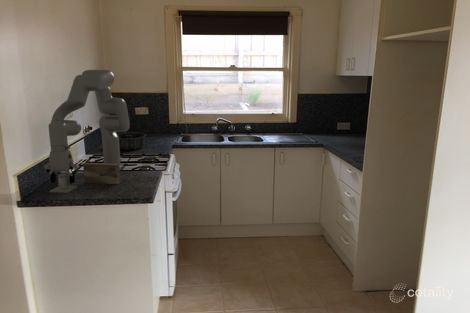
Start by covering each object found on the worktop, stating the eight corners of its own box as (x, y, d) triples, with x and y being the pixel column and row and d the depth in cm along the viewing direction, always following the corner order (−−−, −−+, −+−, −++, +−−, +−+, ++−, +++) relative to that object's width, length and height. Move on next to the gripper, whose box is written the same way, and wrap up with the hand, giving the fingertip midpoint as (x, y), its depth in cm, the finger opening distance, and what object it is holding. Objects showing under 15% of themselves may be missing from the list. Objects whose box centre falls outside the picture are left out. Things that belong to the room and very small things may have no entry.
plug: (62, 187, 180) (60, 173, 178) (69, 187, 179) (68, 173, 178) (57, 189, 176) (55, 175, 175) (65, 189, 176) (63, 176, 174)
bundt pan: (141, 151, 267) (141, 138, 265) (106, 151, 267) (105, 137, 265) (150, 144, 292) (150, 132, 290) (118, 144, 293) (117, 132, 291)
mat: (60, 186, 183) (60, 185, 183) (77, 187, 182) (77, 186, 182) (49, 192, 174) (49, 190, 174) (67, 193, 173) (67, 191, 173)
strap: (110, 170, 186) (110, 168, 186) (114, 170, 186) (114, 168, 185) (99, 175, 175) (99, 173, 175) (104, 176, 175) (104, 174, 175)
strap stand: (87, 181, 192) (86, 162, 190) (120, 182, 190) (118, 164, 188) (84, 182, 190) (83, 164, 187) (117, 184, 187) (116, 165, 185)
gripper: (80, 147, 176) (83, 181, 180) (47, 146, 178) (51, 179, 182) (72, 150, 169) (75, 185, 172) (37, 149, 171) (41, 184, 174)
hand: (63, 182), depth 177 cm, fingers open, 9 cm apart
